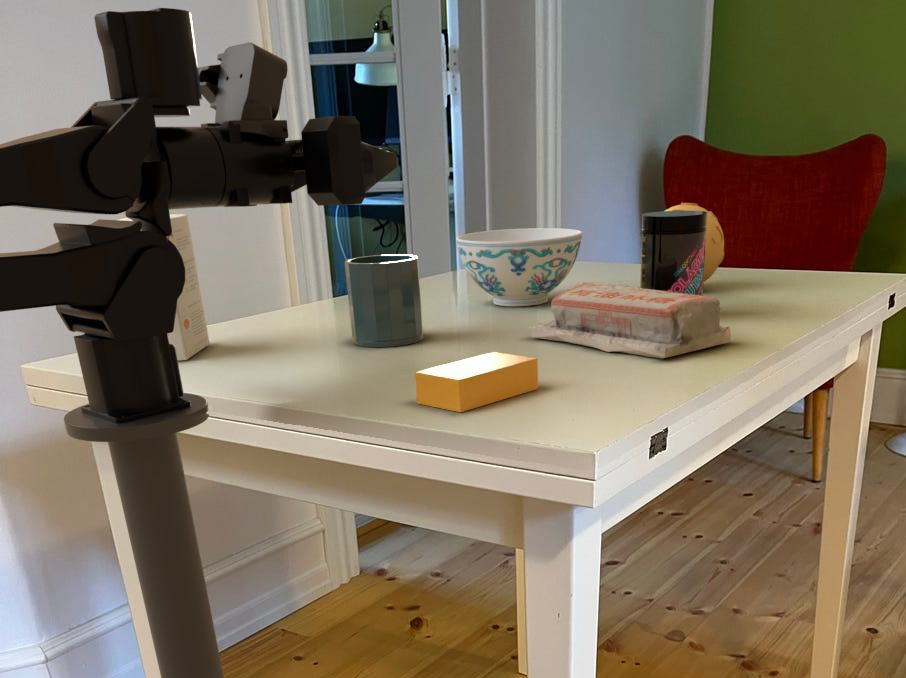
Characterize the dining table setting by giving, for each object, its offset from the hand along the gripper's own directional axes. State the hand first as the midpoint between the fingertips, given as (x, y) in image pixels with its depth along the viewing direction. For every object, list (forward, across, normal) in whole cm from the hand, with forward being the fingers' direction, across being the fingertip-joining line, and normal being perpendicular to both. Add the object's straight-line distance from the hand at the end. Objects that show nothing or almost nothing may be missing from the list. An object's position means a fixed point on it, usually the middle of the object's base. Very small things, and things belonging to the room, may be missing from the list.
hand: (362, 162), depth 87 cm
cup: (+7, +7, +17) cm, 19 cm away
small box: (-10, +22, +17) cm, 29 cm away
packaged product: (+20, -15, +17) cm, 30 cm away
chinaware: (+32, +11, +16) cm, 37 cm away
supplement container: (+32, -11, +16) cm, 38 cm away
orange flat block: (-4, -18, +18) cm, 26 cm away
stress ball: (+49, 0, +16) cm, 52 cm away
